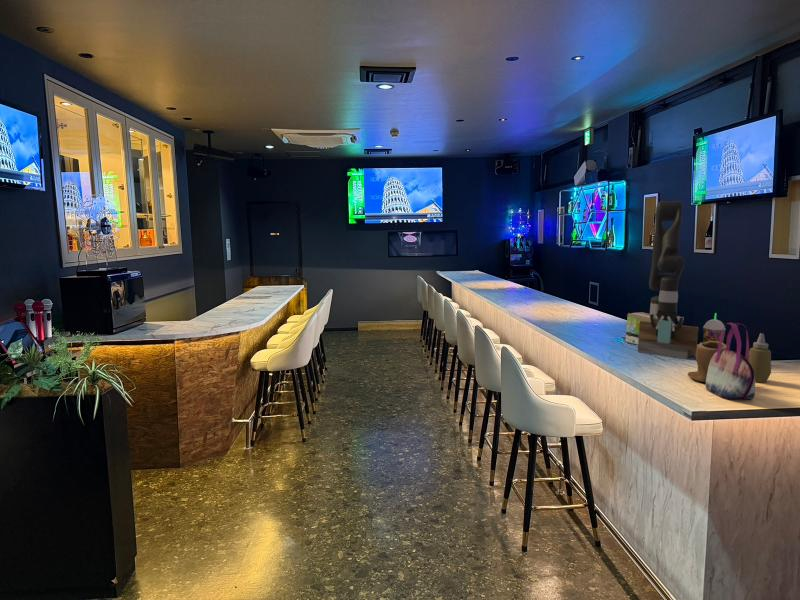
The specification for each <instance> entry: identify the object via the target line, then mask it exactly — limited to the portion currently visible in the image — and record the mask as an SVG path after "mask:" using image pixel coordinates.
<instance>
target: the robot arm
mask: <svg viewBox="0 0 800 600" xmlns="http://www.w3.org/2000/svg"><path fill="white" fill-rule="evenodd" d="M683 210H684V209H683V204H682V201H679V200H667V201H664V200H662V201H658V202H657V204H656V208H655V224H654V225H655V227H654V228H655V229H654V237H653V238H654V239H653V245H652V257H651V268H650V275H649V278H648V279H649V281H648V287H649V289H650V290H651V291H659V295H656V296H652V297H651V298H650V307H649V314H651V315H650V319H651V325H652V327H654V328H656V336H657V337H658V326H659V322H658V324H657V325H656V323H655V318H656V316H657V317H658V319H659V320H662V321H663V320H664V321H672V322H673V323H672V325H671V326H672V328H671V329H672V331H671V339H673V338H675V331H676V330H679V329H680V328H681V326H683V323H684V320H685V317H684V316H679V315H678V299H679V282H680V278H681V274H682V272H683V269H684V267H685V264H686V263H685V262H686V261H685V259H684V257H683V256H682V255H681V256H680V255H678V254H679V253H680V249H681V248H680V247H681V246H680V235H681V227H682V220H683ZM664 222H673V223H672V225H671V226H670V227H669V228H668V229H666V227H665V225H664ZM671 272H672V273H673V274H672V273H671ZM675 320H677V322H678V323H677V324H675ZM675 325H677V327H676V328H675Z"/></svg>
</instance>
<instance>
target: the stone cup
mask: <svg viewBox="0 0 800 600" xmlns="http://www.w3.org/2000/svg"><path fill="white" fill-rule="evenodd" d="M718 345H719V342H717V341H707V342H703V341H702V342H699V344H698V343H697V349H696V357H695V360H696V364H697V365H696V366H697V371H689V372H687V377H689V378H690V379H692V380H695V381H697V382H702V383H703V382H704V383H706V377H707V372H708V367H709V363H710V360H711V358H712V356H713V355H714V354H715V353H716V352H717V351H718ZM721 350H726V344H725V343H724V342H723V343H721Z"/></svg>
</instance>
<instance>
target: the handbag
mask: <svg viewBox="0 0 800 600" xmlns="http://www.w3.org/2000/svg"><path fill="white" fill-rule="evenodd" d="M727 324H728V325H730V326H731V327H730V329H729V331H728V333H727V337H726V344H725V345H726V350H721V343H722V336H723V329H724V327H725V326H724V327H723V329H722V332H721V335H720V340H719V345H718V351H717V352H716V353H715V354H714V355H713V356H712V358H711V360H710V363H709V367H708V372H707V377H706V382H705V389H706V391H708V392H710V393H712V394H714V395H716V396H718V397H720V398H722V399H727V400H729V399H732V400H733V399H747V400H753V399H754V398H755V396H756V382H755V373H754V370H753V367H752V365H751V364H750V363H749V350H750V342H749V333H748V330H747V329H746V328H747V327H746V326H744V324H743V323H739V322H727V323H726V325H727ZM740 325H742V326H744V327H745V330H746V331H745V332H746V337H745V339H746V345H745V356H744V355H742V354H741V351H742V340H741V334H740V331H739V328H738V327H739V326H740ZM733 335H734V337H735V341H736V351H735V350H731V349H730V348H731V342H732V338H733Z"/></svg>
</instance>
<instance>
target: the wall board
mask: <svg viewBox="0 0 800 600" xmlns="http://www.w3.org/2000/svg"><path fill="white" fill-rule="evenodd" d="M657 324H658V323H656V325H657ZM677 325H678V324H675V328H676V327H677ZM657 339H658V337H657V336H656V328H654V327H652V325H651V322H646V321H640V326H639V339H638V345H637V353H641V354H648V355H654V356H661V357H667V358H668V357H670V358H674V359H675V358H676V359H682V360H687V359H688V358H690V357H693V358H694V357H695V358H696V349H697V346H698V339H699V327H698V326H689V325H682V326H681V328H680V329H679V330H676V331H675V338H673V339H672V343H670V344H665V343H658V342H657Z"/></svg>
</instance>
